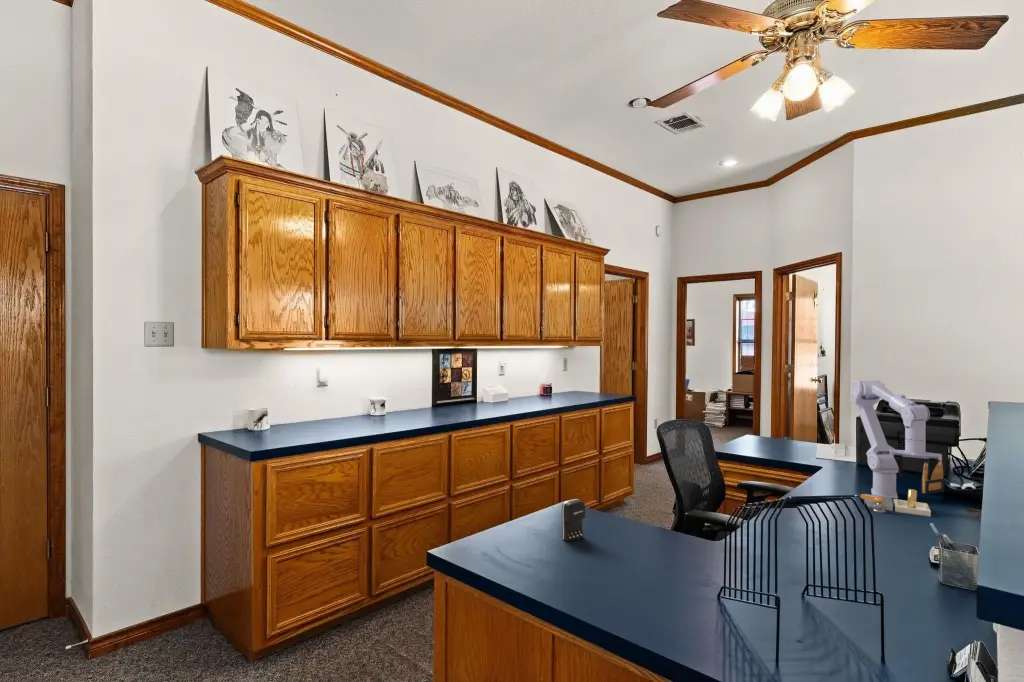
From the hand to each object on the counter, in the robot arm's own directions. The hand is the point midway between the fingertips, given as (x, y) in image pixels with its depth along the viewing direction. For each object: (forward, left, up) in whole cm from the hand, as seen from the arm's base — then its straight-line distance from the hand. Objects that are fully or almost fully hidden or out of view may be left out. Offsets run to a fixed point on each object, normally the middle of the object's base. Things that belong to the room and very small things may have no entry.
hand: (915, 478), depth 189 cm
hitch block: (+6, -11, -10) cm, 16 cm away
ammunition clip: (-26, +8, -11) cm, 29 cm away
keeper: (+10, -13, -7) cm, 18 cm away
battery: (+89, -89, -11) cm, 126 cm away
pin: (+4, -1, -10) cm, 11 cm away
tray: (+4, -1, -10) cm, 11 cm away
